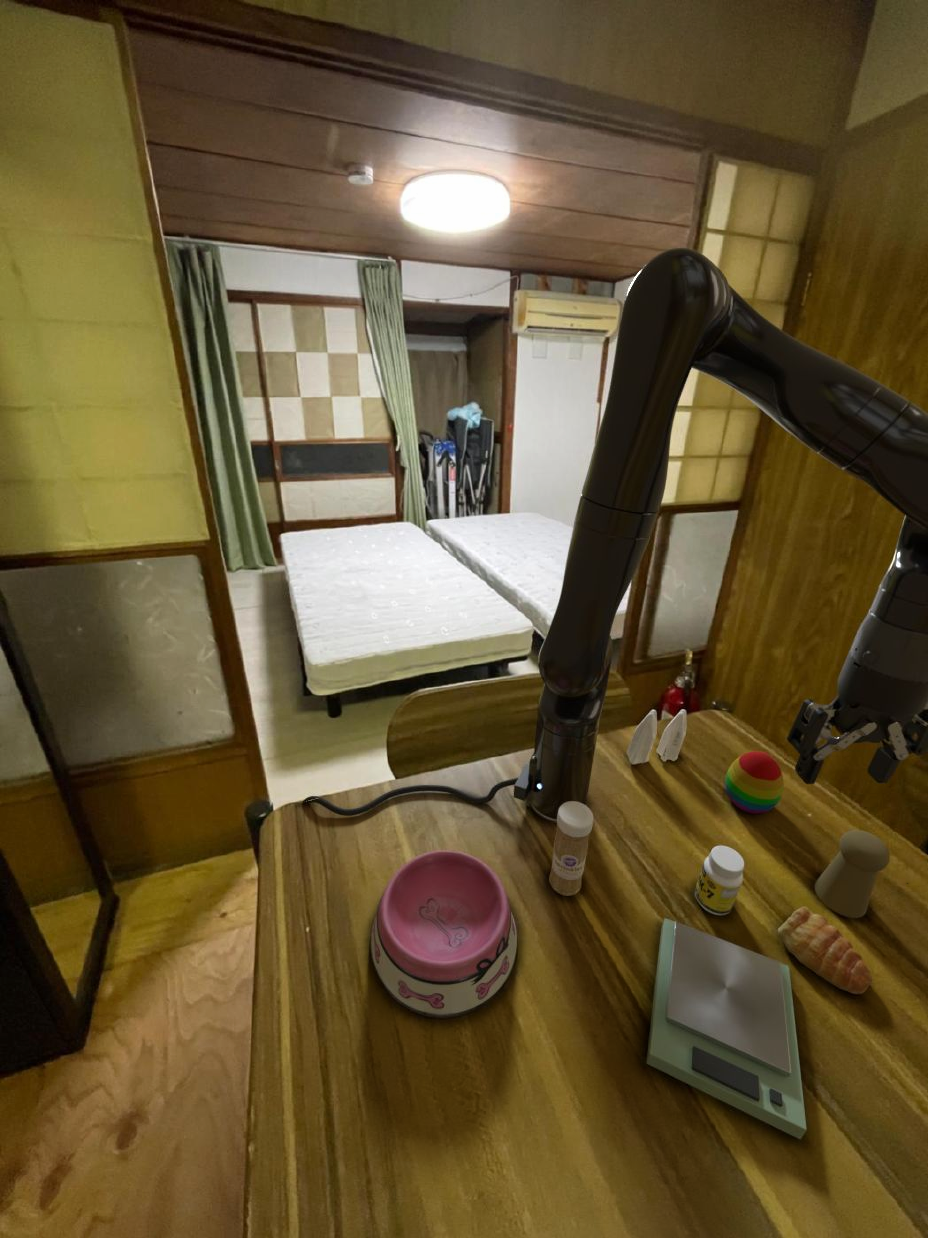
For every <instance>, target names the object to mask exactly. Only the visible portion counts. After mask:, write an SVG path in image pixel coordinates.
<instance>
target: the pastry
mask: <svg viewBox="0 0 928 1238" xmlns="http://www.w3.org/2000/svg"><path fill="white" fill-rule="evenodd" d="M777 933H778V935H779V937H780V939H781V941H782V943H783V944H784V946H785V948H786V949H787V951H788V952H789V953H791V954H792V955H793V956H794V957H795V958H796V959H797V961H799V962H800V963H801V964H803V965H804V966H805V967H806V968H808V969H809V970H811V971H812V972H814V974H816V975H817V976H819V977H821V978H823V979H824V981H827V982H828V983H829V984H831V985H833V986H835V987H836V988H839V989H840V990H843V991H846V992H848V993H851V994H854V995H862V994H863V993H864V992H866V991H867V990H868V988H869V986H871V984H872V983H873V981H874V979H873V977H872V975H871V972H870V970H869V968H868V966H867V965H866V964H865V962H864V961H863V958H862V955H861V954H860V953H858V951H856V950H855V949H854V948H853V944H852V943H851V941H850V940H848V939H846V938H845V937H844V936H843V934H842V932H841V931H840V930H839V929H838V928H837V926H834V925H830V924H829V921H828V920H827V918H826V917H825V916H824V915H822V914H819V913H818V914H817V913H813V912H812V911H811V910H810V909H809V908H808V907H807V906H801V907H800V908H798V909H796V910H794V911H793V912H792V914H791V916H789V917H788V918H787V919H786V920H785V921H784V922H783V924H782V925H781V926H780V927H778V929H777Z"/></svg>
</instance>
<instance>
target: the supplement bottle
mask: <svg viewBox="0 0 928 1238" xmlns="http://www.w3.org/2000/svg"><path fill="white" fill-rule="evenodd" d="M744 870H745V860H744V859H743V856H742V855H741V854H740V853H739V852H737V851H736V849H734V848H731V847H730V846H726V845H716V846H714V847H713V848H712V849H711V851H710V853H709V855H708V856H707V857H706V858H705V859H704V861H703V864H702V867H701V870H700V873H699V875H698V879H697V882H696V884H695V888H694V896H695V898H696V901H697V903H698V904H699V905H700V906H701V907H702V908H703V909H704V910H705V911H706V912H707V913H709V914H713V915H715V916H725V915H727V914H728V915H729V914H730V913H731V911H732V909H733V908H734V905H735V903H736V900H737V897H738V895H739V892H740V889H741V886H742V884H743V880H744V874H743V873H744Z"/></svg>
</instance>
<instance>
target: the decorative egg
mask: <svg viewBox="0 0 928 1238" xmlns="http://www.w3.org/2000/svg"><path fill="white" fill-rule="evenodd" d="M724 782H725V783H724V785H725V791H726V793H727V796H728V798H729V800H730V801H731V802H732V803H733V805H735V806H736V807H737V808H738V809H740V810H742V811H743V812H747V813H749V814H756V815H757V814H763V813H767V812H768V811H771V810H773V808H774V807H776V806H777V805H778V803H779V801H780V800H781V798H782V796H783V792H784V776H783V772H782V770H781V767H780V765H779V764H778V762H777V761H776V759H774V757H772V756H771V755H770V754H769V753H767V752H764V751H760V750H754V751H753V750H752V751H748V752H745V753H744V754H741V755H740V756H738V757H737V758H736V759H734V761H733V762H732V763H731V764H730V766H729V767H728V770H727V772H726V775H725V781H724Z"/></svg>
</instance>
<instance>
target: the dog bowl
mask: <svg viewBox="0 0 928 1238" xmlns="http://www.w3.org/2000/svg"><path fill="white" fill-rule="evenodd" d="M369 939H370V941H369V945H370V946H369V948H370V957H371V963H372V966H373V969H374V971H375V974H376V976H377V978H378V980H379V982H380V983H381V985H382V986H383V987H384V989H385V990H386V991H387V993H388V994H389V995H390V996H391V997H392V998H393V1000H395V1001H396V1002H397V1003H398V1004H400V1005H401V1006H402V1007H404V1008H406V1009H407V1010H409V1011H411V1012H413V1013H416V1014H418V1015H421V1016H424V1017H430V1018H437V1019H448V1018H456V1017H461V1016H464V1015H467V1014H470V1013H473V1012H475V1011H477V1010H478V1009H480V1008H483V1007H484V1006H486V1005H487V1004H488V1003H489V1002H490V1001H492V1000H493V999H494V998H495V997H496V996H497V995H498V994H499V993H500V992H501V991H502V989H503V988H504V987H505V986H506V984H507V982H508V980H509V978H510V976H511V974H512V972H513V969H514V966H515V963H516V959H517V954H518V952H517V951H518V931H517V924H516V921H515V919H514V915H513V913H512V910H511V904H510V900H509V897H508V894H507V892H506V890H505V887H504V886H503V883H502V881H501V880H500V877H498V875H497V874H496V872H495V871H494V869H492V868H491V867H490V866H489V865H488V864H486V863H485V862H483V860H481V859H480V858H477V857H475V856H473V855H471V854H469V853H466V852H462V851H458V850H452V849H451V850H450V849H441V850H433V851H427V852H425V853H422V854H420V855H417V856H415V857H413V858H411V859H410V860H408V861H407V862H405V863H403V865H402V866H400V867H399V868H398V869H397V870H396V871H395V873H394V874H393V875H392V877H391V878H390V880H389V881H388V882H387V884H386V887H385V889H384V891H383V892H382V895H381V897H380V899H379V903H378V906H377V911H376V915H375V918H374V920H373V923H372V926H371V931H370V938H369Z"/></svg>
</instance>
